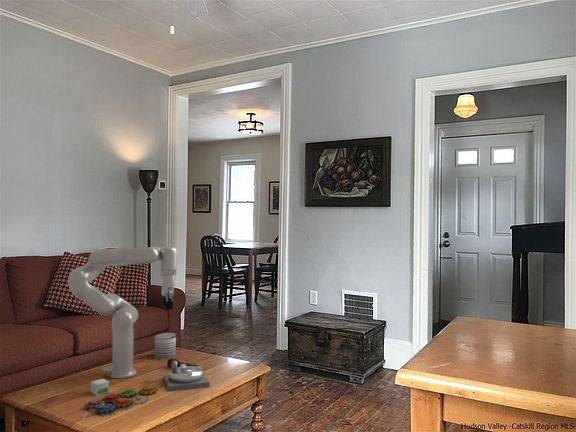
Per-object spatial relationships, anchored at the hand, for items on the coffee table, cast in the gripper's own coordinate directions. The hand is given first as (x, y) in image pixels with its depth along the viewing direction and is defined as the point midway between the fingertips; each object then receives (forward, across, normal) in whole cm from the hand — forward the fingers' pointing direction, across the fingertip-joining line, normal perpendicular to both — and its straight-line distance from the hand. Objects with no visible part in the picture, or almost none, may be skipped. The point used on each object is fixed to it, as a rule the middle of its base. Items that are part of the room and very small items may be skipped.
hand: (167, 307), depth 228 cm
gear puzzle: (+33, +30, -20) cm, 49 cm away
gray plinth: (+32, +15, +7) cm, 36 cm away
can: (+33, -31, +3) cm, 45 cm away
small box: (+33, +16, -30) cm, 47 cm away
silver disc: (+30, +15, +7) cm, 34 cm away
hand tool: (+33, -5, +8) cm, 34 cm away
